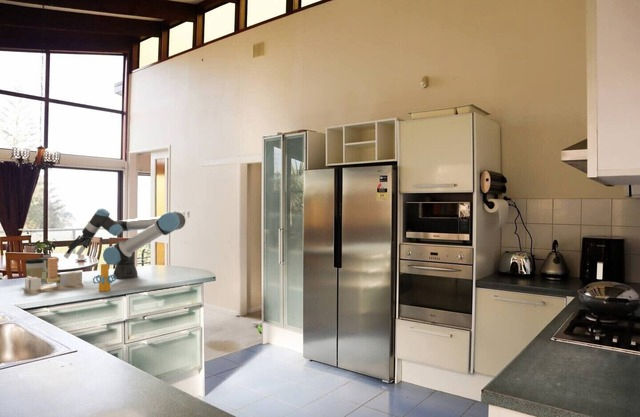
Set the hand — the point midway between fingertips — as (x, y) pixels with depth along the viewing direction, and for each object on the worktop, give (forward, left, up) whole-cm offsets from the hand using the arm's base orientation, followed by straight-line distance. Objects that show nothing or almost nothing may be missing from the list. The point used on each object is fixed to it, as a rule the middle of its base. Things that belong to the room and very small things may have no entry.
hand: (71, 256), depth 285 cm
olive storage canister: (+13, +17, -16) cm, 26 cm away
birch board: (-8, +32, -15) cm, 36 cm away
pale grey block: (-13, +25, -14) cm, 31 cm away
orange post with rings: (-39, +33, -16) cm, 53 cm away
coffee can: (+16, 0, -16) cm, 22 cm away
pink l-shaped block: (-11, +27, -11) cm, 32 cm away
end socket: (-2, +39, -14) cm, 42 cm away
